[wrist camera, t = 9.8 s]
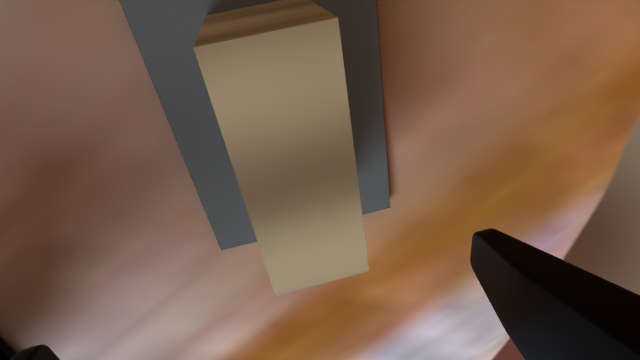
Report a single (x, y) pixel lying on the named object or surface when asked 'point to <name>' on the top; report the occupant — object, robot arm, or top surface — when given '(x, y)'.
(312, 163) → the wooden block
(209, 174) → the mat
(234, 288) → the top surface
